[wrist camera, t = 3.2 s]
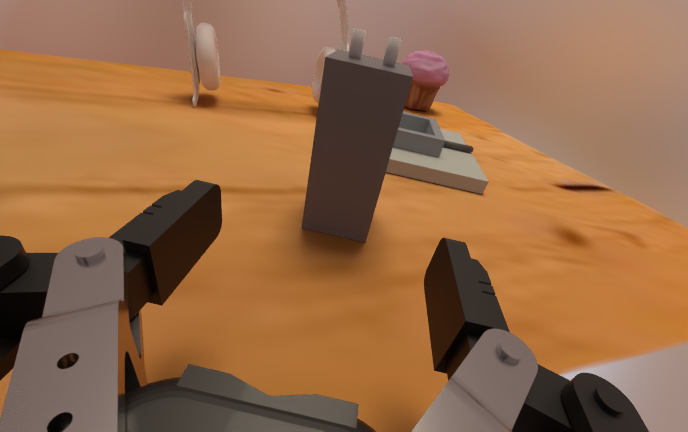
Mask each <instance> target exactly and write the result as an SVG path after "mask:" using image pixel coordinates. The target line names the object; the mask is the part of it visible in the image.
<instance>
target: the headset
mask: <svg viewBox="0 0 688 432" xmlns="http://www.w3.org/2000/svg"><path fill="white" fill-rule="evenodd" d="M337 2H338V7H339V13H340V20H341V44H340V48H339V50H343V51H347V52H348V51H349V30H348V15H347V8H346V2H345V0H337ZM192 3H193V0H184V2H183V10H182V13H183V19H184V24H185V32H186V39H187V46H188V52H189V59H190V66H191V73H192V80H193V88H194V95H193V99H192V102H193V107H194V108H196V106H197V102H198V95H199V83H200V77H201V81H202V84H203V86H204V87H205V88H206V89H207V90H211V91H214V90H216V89H218V88H219V85H220V67H219V55H218V45H217V38H216V33H215V30H214V28H213V27H212V26H211V25H210V24H208V23H200V24H199V25H198V26H197V28H196V43H195V36H194V27H193V20H192V13H191V10H192ZM335 51H336V50H335V49H334V48H333V47H329V46H328V47H324V48H323V49H322V50H321V52H320V54H319V56H318V59H317V62H316V65H315V70H314V76H313V85H312V92H313V98H314V100H315V101H316V102H317V103H318V104H319V98H320V91H321V84H322V76H323V69H324V62H325V57H326V56H328V55H329V54H331V53H333V52H335ZM199 74H200V75H199Z"/></svg>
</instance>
